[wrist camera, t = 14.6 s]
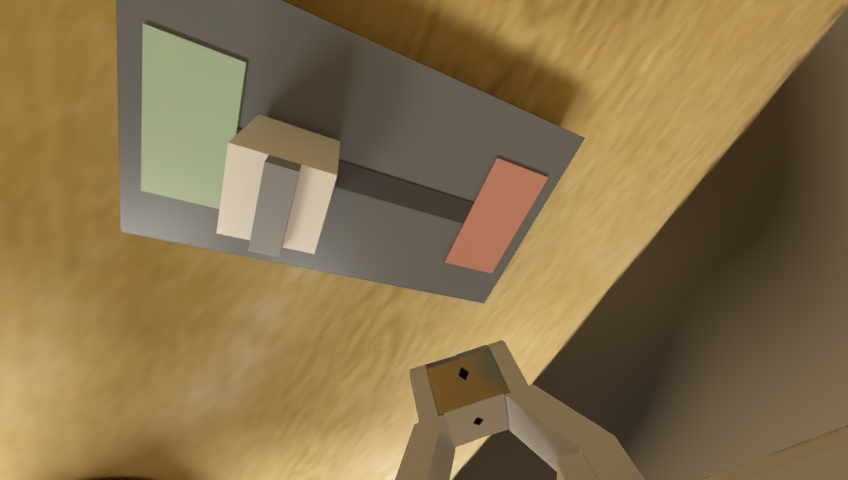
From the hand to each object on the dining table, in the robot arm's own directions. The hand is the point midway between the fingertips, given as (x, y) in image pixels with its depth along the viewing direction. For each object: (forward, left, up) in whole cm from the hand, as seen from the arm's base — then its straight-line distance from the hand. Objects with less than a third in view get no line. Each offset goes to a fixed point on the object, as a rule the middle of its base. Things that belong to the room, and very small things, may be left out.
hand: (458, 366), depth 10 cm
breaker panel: (0, +2, -16) cm, 16 cm away
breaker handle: (0, +7, -12) cm, 14 cm away
